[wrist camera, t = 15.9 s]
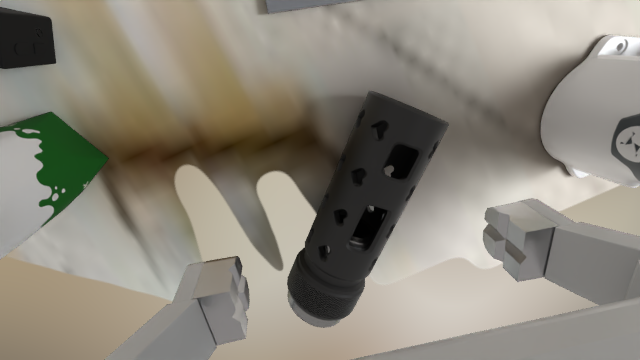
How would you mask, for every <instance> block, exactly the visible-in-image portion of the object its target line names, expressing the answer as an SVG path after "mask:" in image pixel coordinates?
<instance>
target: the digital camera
mask: <svg viewBox="0 0 640 360" xmlns="http://www.w3.org/2000/svg"><path fill="white" fill-rule="evenodd" d="M36 28H37V30H38V31H37V30H36ZM38 28H39V29H40V30H41V32H40V30H39V29H38ZM36 32H37V33H38V35H39V36H40V37H39V36H38V35H37V33H36ZM55 63H56V58H55V49H54V40H53V31H52V22H51V19H50V18H49V17H46V16H41V15H36V14H31V13H26V12H21V11H16V10H12V9H7V8H2V7H0V68H2V69H8V68H18V67H27V66H36V65H46V64H55Z"/></svg>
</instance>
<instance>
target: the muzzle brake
mask: <svg viewBox="0 0 640 360" xmlns="http://www.w3.org/2000/svg"><path fill="white" fill-rule="evenodd" d="M448 126H449V124H448V123H447V122H445V121H443V120H441V119H439V118H437V117H435V116H433V115H430V114H428V113H426V112H423V111H421V110H419V109H416V108H414V107H412V106H409V105H407V104H404V103H402V102H399V101H397V100H394V99H392V98H389V97H387V96H384V95H382V94H379V93H376V92H373V91H369V93H368V95H367V97H366V100H365V102H364V104H363V107H362V109H361V112H360V114H359V116H358V119H357V121H356V123H355V126H354V128H353V130H352V133H351V135H350V138H349V140H348V142H347V145H346V147H345V149H344V152H343V154H342V156H341V159H340V161H339V163H338V166H337V168H336V171H335V173H334V175H333V178H332V180H331V182H330V185H329V187H328V189H327V192H326V194H325V197H324V199H323V201H322V204H321V206H320V208H319V211H318V213H317V215H316V218H315V220H314V223H313V225H312V227H311V230H310V232H309V235H308V237H307V239H306V241H305V248H303V250H301V251H300V252H299V253H298V255H297V257H296V259H295V262H294V264H293V267H292V269H291V271H290V274H289V276H288V282H287V285H288V290H289V291H288V302H289V304H290V306H291V308H292V310H293V311H294V312H295V313H296V315H297V316H298V317H300V318H301V319H302V320H303V321H305V322H307V323H309V324H311V325H313V326H317V327H323V328H325V327H331V326H334V325H335V324H337V323H339V321H340V320H341V319H342V318H344V317H346V316H348V315H349V314H350V313H351V312H352V310H353V309H354V307H355V305H356V303H357V301H358V299H359V297H360V296H361V293H362V292H363V289H364V287H365V278H366V277H367V276H368V275H369V274H370V272H371V270H372V268H373V266H374V265H375V263H376V261H377V259H378V257H379V255H380V253H381V251H382V250H383V248H384V246H385V244H386V242H387V240H388V238H389V236H390V235H391V233H392V231H393V229H394V227H395V225H396V223H397V221H398V220H399V218H400V216H401V214H402V212H403V210H404V208H405V206H406V205H407V203H408V201H409V199H410V197H411V195H412V193H413V191H414V190H415V188H416V186H417V184H418V182H419V180H420V178H421V176H422V175H423V173H424V171H425V169H426V167H427V165H428V163H429V161H430V160H431V158H432V156H433V154H434V152H435V150H436V148H437V146H438V145H439V143H440V141H441V139H442V137H443V135H444V133H445V131H446V130H447V128H448ZM390 165H392V166H393V167H394V171H393V172H392V173H391V177H389V176H387V175H386V174H385V171H384V168H385V167H387V166H390ZM369 206H374V211H372V210H370V208H369Z"/></svg>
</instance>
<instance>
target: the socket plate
mask: <svg viewBox="0 0 640 360" xmlns="http://www.w3.org/2000/svg"><path fill="white" fill-rule="evenodd" d="M353 1H359V0H266V4H267V10H268V14H271V13H278V12H285V11H292V10H298V9H305V8H312V7H319V6H325V5H332V4H339V3H346V2H353Z"/></svg>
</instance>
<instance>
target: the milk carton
mask: <svg viewBox="0 0 640 360" xmlns="http://www.w3.org/2000/svg"><path fill="white" fill-rule="evenodd" d="M108 159H109V158H108V157H106V156H105V155H104V154H103V153H102V152H100V151H99V150H98V149H97V148H95V147H94V146H93V145H92V144H90V143H89V142H88V141H87V140H86V139H84V138H83V137H82V136H81V135H79V134H78V133H77V132H76V131H75V130H73V129H72V128H71V127H70V126H68V125H67V124H66V123H65V122H63V121H62V120H61V119H60V118H59V117H57V116H56V115H55V114H54V113H52V112H49V113H46V114H42V115H39V116H36V117H33V118H30V119H26V120H23V121H20V122H16V123H13V124H10V125H7V126H4V127H0V259H1V258H3V257H4V256H5V255H7V254H8V253H9V252H11V251H12V250H13V249H15V248H16V247H18V246H19V245H20V244H21V243H23V242H24V241H25V240H26V239H28V238H29V237H30V236H31V235H33V234H34V233H35V232H36V231H38V230H39V229H40V228H41V227H43V226H44V225H45V224H46V223H48V222H49V221H50V220H51V219H53V218H54V217H55V216H56V215H58V214H59V213H60V212H61V211H63V210H64V209H65V208H66V207H67V206H68V205H69V204H70V203H71V202H72V201H73V200H74V199H75V198H76V197H77V196H78V195H79V194H80V193H81V192H82V191H83V190H84V189H85V188H86V187H87V185H88V184H89V183H90V182H91V180H92V179H93V178H94V177H95V175H96V174H97V173H98V171H99V170H100V169H101V168H102V166H103V165H104V164H105V163H106V161H107V160H108Z"/></svg>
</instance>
